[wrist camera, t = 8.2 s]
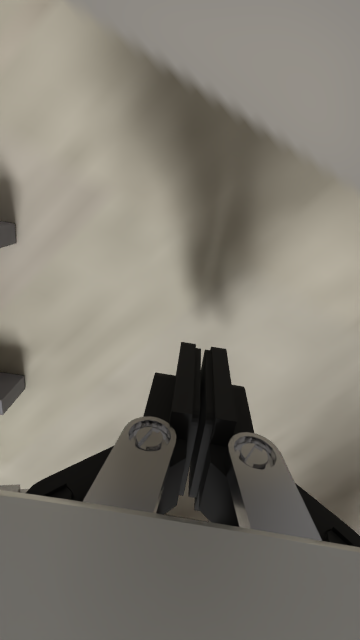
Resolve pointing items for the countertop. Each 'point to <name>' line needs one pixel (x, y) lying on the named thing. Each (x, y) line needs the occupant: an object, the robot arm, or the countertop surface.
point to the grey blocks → (3, 386)
